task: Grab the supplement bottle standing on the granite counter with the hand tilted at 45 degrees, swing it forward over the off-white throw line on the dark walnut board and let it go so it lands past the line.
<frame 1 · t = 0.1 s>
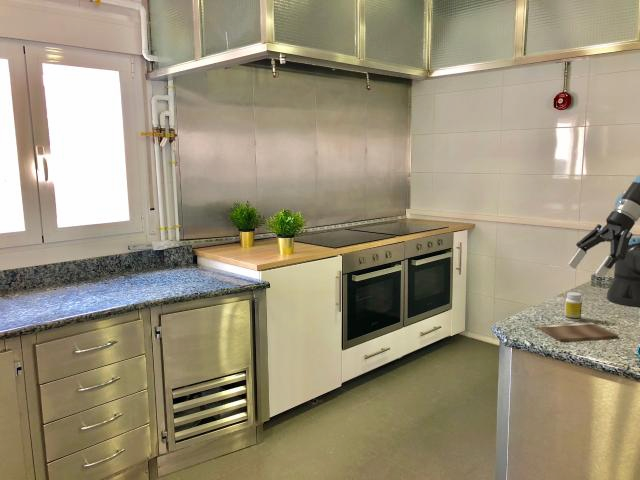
hand: (584, 271, 165), 15 cm above the worktop, tool tilted 35°, fingers open, 13 cm apart
supplement bottle: (572, 319, 165), on the worktop
walnut board: (575, 332, 153), on the worktop
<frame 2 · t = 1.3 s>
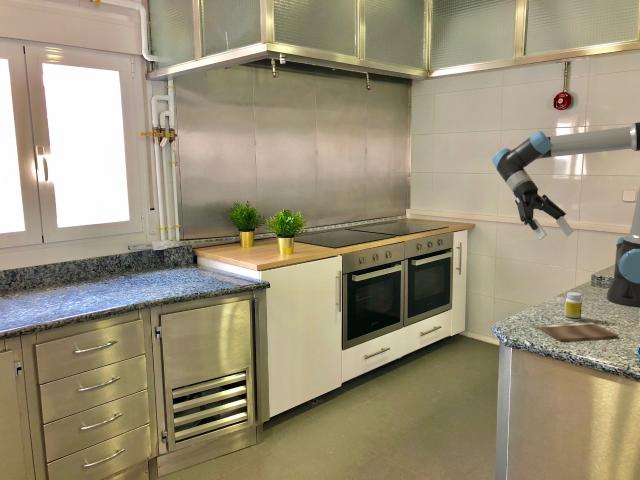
hand: (557, 235, 169), 26 cm above the worktop, tool tilted 45°, fingers open, 13 cm apart
nothing on the worktop moved.
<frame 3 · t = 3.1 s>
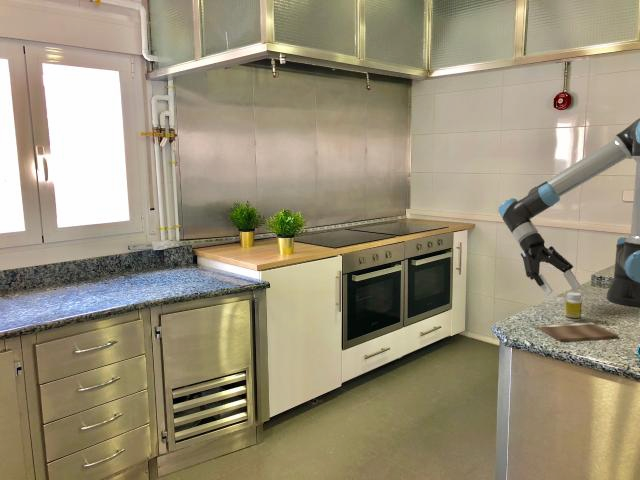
hand: (563, 291, 166), 9 cm above the worktop, tool tilted 45°, fingers open, 13 cm apart
nothing on the worktop moved.
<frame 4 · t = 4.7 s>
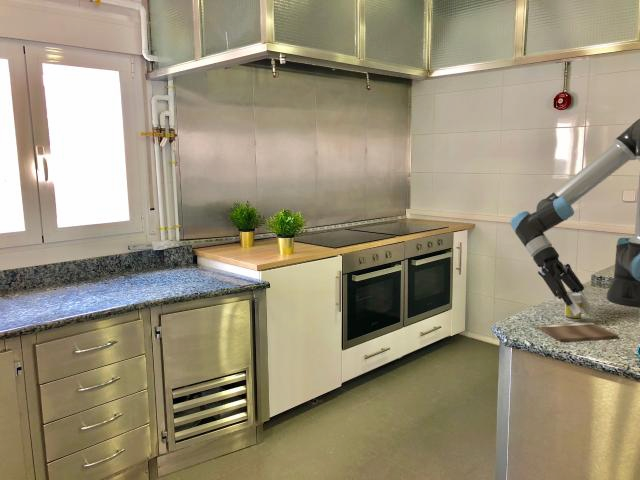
hand: (583, 312, 161), 3 cm above the worktop, tool tilted 45°, fingers closed on supplement bottle, 5 cm apart
supplement bottle: (572, 319, 165), on the worktop, touching gripper
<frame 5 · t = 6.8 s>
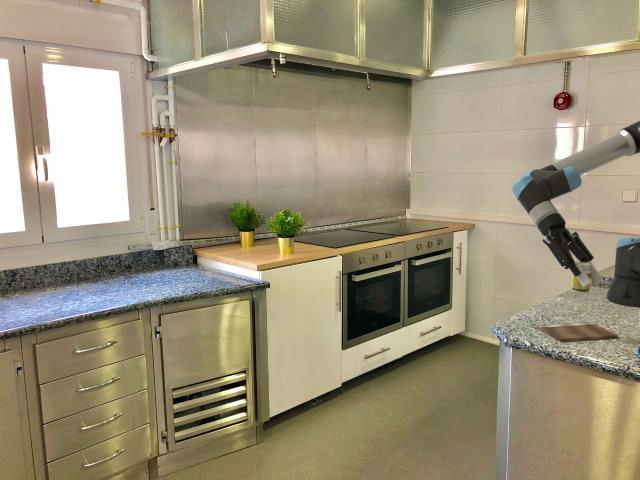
hand: (593, 283, 146), 16 cm above the worktop, tool tilted 45°, fingers closed on supplement bottle, 5 cm apart
supplement bottle: (580, 292, 150), point 13 cm above the worktop, touching gripper
when the fingers open (6 cm above the worktop, at t = 8.8 s): supplement bottle drops 2 cm, resting on walnut board.
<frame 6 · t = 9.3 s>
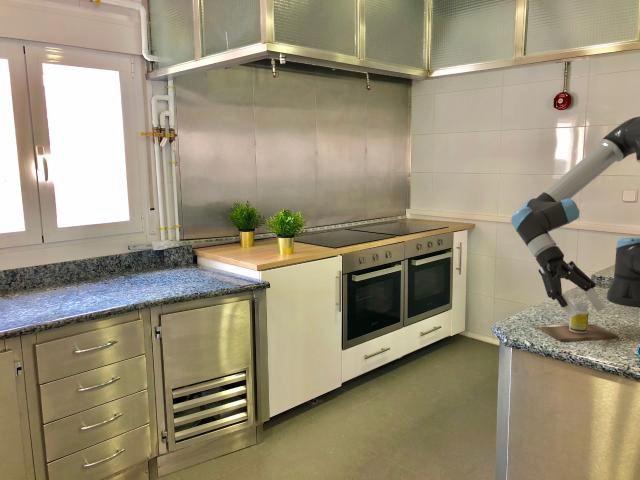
hand: (588, 312, 148), 7 cm above the worktop, tool tilted 45°, fingers open, 12 cm apart
supplement bottle: (577, 331, 152), point 1 cm above the worktop, touching walnut board
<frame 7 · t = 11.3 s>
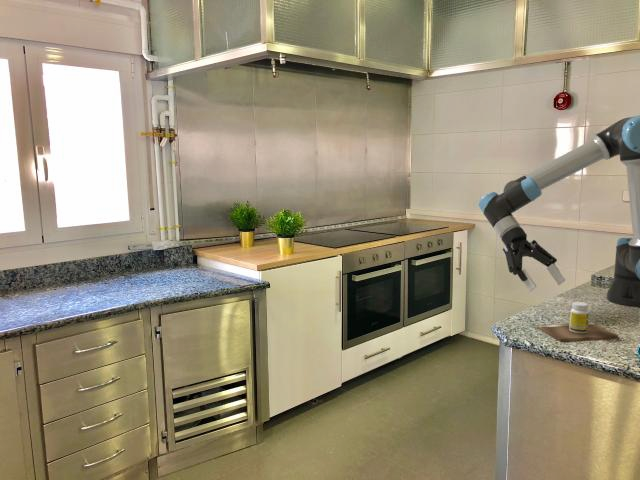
hand: (547, 285, 161), 12 cm above the worktop, tool tilted 45°, fingers open, 13 cm apart
nothing on the worktop moved.
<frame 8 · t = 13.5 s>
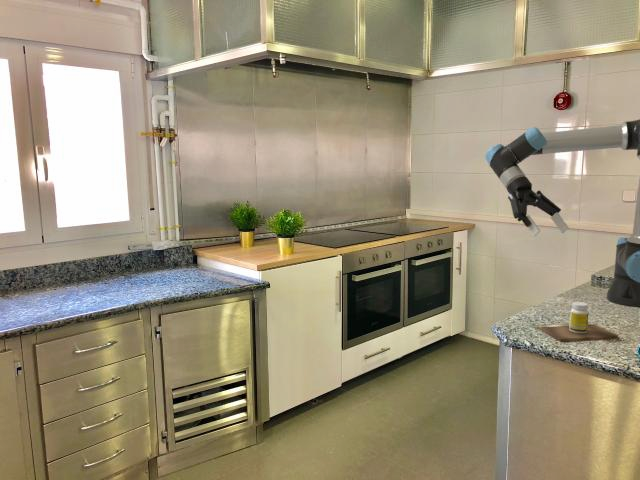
hand: (551, 232, 165), 28 cm above the worktop, tool tilted 45°, fingers open, 13 cm apart
nothing on the worktop moved.
at the end: supplement bottle inside the target area (1.6 cm from its centre), point 0.6 cm above the worktop; the gripper is holding nothing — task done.
